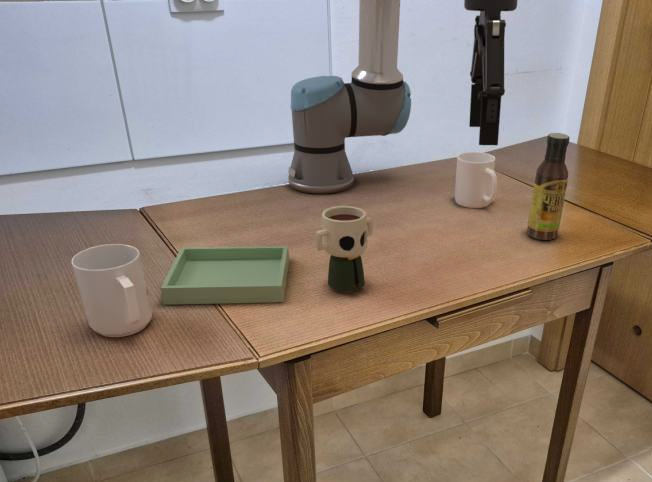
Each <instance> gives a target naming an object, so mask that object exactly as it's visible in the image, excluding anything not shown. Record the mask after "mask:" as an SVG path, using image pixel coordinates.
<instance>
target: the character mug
mask: <svg viewBox="0 0 652 482" xmlns="http://www.w3.org/2000/svg"><path fill="white" fill-rule="evenodd" d="M321 223H322V224H321V225H322V229H320V230H317V231H316V232H315V235H314V236H315V248H316V250H317V251H318V252H319V251H324V252H325V253H327V255H330V256H329V262H328V272H327V285H328V286H329V287H330V288H331V290H332V289H333V290H334V291H335V292H340V293H353V292H356V286H358V289H359V290H362V289H363V288H364V287H365V283H366V280H365V272H364V266H363V259H362V256H361V255H363V254H364V253H365V251H366V250H367V249H368V248H367V247H368V238H369V237H371V236H372V235H373V219H372V217H371V216H368V217H367V213H366V211H365V210H364V209H362V208H360V207H356V206H351V205H338V206H332V207H329V208H326V209H324V210H323V211H322V213H321Z"/></svg>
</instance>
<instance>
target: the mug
mask: <svg viewBox="0 0 652 482" xmlns="http://www.w3.org/2000/svg"><path fill="white" fill-rule="evenodd" d="M70 263H71V267H72V271H73V274H74V278H75V280H76V281H75V282H76V284H77V289H78V291H79V295H80V299H81V302H82V306H83V310H84V313H85V317H86V320H87V324H88V326H89V328H90V329H91V328H92V329H93V330H92V329H91V330H92V331H94V330H95V331H94V332H95V333H97V334H99V335H101V336H103V337H107V338H122V337H128V336H132V335H135V334H136V333H137V334H138V333H139V332H141V331H142V330H145V328H146V327H147V326H148V325H149V323H150V321H152V318H153V308H152V304H151V299H150V294H149V290H148V286H147V280H146V276H145V271H144V266H143V262H142V258H141V253H140V251H139V249H138V248H136V247H135V246H132V245H130V244H124V243H123V244H122V243H109V244H108V243H107V244H100V245H95V246H92V247H89V248H85V249H82V250H81V251H79V252H78V253H75V255H74V256H72V258H71V260H70ZM96 331H97V332H96ZM98 332H100V333H98ZM103 333H107V334H103ZM119 333H121V334H119Z"/></svg>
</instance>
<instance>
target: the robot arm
mask: <svg viewBox="0 0 652 482" xmlns="http://www.w3.org/2000/svg"><path fill="white" fill-rule="evenodd" d="M463 3H464V4H463V6H464V9H465V10H466V11H471V12H472V11H473V12H479V15H476V16H475V18H474V23H475V24H474V27H473V37H474V38H473V45H472V46H473V48H472V55H471V56H472V57H471V68H470V72H469V75H470V81H471V86H470V104H469V105H470V107H469V123H468V124H469V128H479V133H478V134H479V135H478V145H479V146H499V134H500V121H501V120H500V119H501V107H502V96H504V95H505V93H506V90H505V89H506V88H505V37H506V36H505V35H506V34H505V33H506V26H507V23H506V19H502V16H501V15H502V12H513V11H516V9H517V8H518V0H464V2H463ZM358 5H359V9H358V11H359V12H358V65H357V66H356V67H355V68H354V69H353V70H352V72H351V82H346V83H345V82H344V80H343V78H342V77H341V76H338V75H320V76H319V75H318V76H313V77H308V78H305V79H302V80H299V81H297V82H296V83H294V84H293V86H292V87H291V90H290V110H291V120H292V121H291V122H292V136H293V149H294V151H293V156H292V161H291V164H290V166H289V167H288V185H289V187H290V188H291V189H293V190H295V191H297V192H301V193H306V194H317V195H318V194H319V195H321V194H323V195H324V194H333V193H334V194H335V193H340V192H343V191H346V190H348V189H351V187H353V185H354V173H353V170H352V166H351V164H350V161H349V158H348V155H347V153H346V138H347V139H348V138H360V137H361V138H362V137H377V136H379V137H380V136H381V137H387V136H388V135H396V134H399V133H401V132H402V131H403V130H404V129H405V128H406V126H407V124H408V122H409V119H410V115H411V111H412V110H411V109H412V98H411V95H412V93H411V88H410V85H409V83H407V82H406V81H404V75H403V73H402V72H401V71H400V69H399V68H398V54H399V36H400V34H399V33H400V15H401V0H359V4H358Z"/></svg>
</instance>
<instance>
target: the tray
mask: <svg viewBox="0 0 652 482" xmlns="http://www.w3.org/2000/svg"><path fill="white" fill-rule="evenodd" d="M289 266H290V250H289V245H266V246H265V245H262V246H261V245H259V246H257V245H256V246H255V245H253V246H191V247H189V246H186V247H185V246H184V247H180V249H179V252H178V253H177V255H176V256H175V258H174V261H173V263H172V265H171V266H170V269H169V271H168V273H167V275H166V276H165V279H164V280H163V282H162V284H161V286H160V293H161V297H162V300H163V301H162V302H163V305H165V306H169V305H171V306H172V305H215V304H217V305H218V304H220V305H221V304H259V303H260V304H263V303H266V304H267V303H283V302H284V298H285V291H286V286H287V279H288V272H289Z"/></svg>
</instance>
